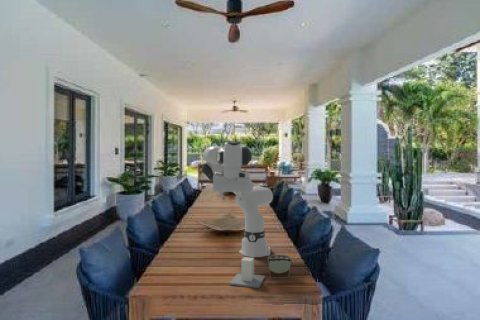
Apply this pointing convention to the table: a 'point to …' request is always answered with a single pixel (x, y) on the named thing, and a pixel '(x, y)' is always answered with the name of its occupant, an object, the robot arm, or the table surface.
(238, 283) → the post stand
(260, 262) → the table surface
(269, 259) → the food container
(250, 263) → the tall white pillar
